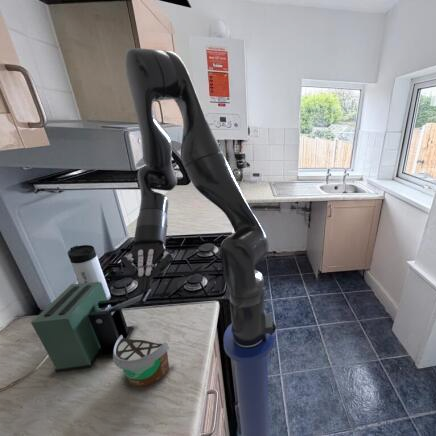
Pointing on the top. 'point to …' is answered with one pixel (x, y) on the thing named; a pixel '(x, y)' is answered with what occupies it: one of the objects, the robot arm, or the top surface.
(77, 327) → the toaster body
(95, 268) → the travel mug
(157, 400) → the top surface
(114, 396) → the top surface
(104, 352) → the bracket
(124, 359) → the food container
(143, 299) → the lever
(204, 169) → the robot arm
